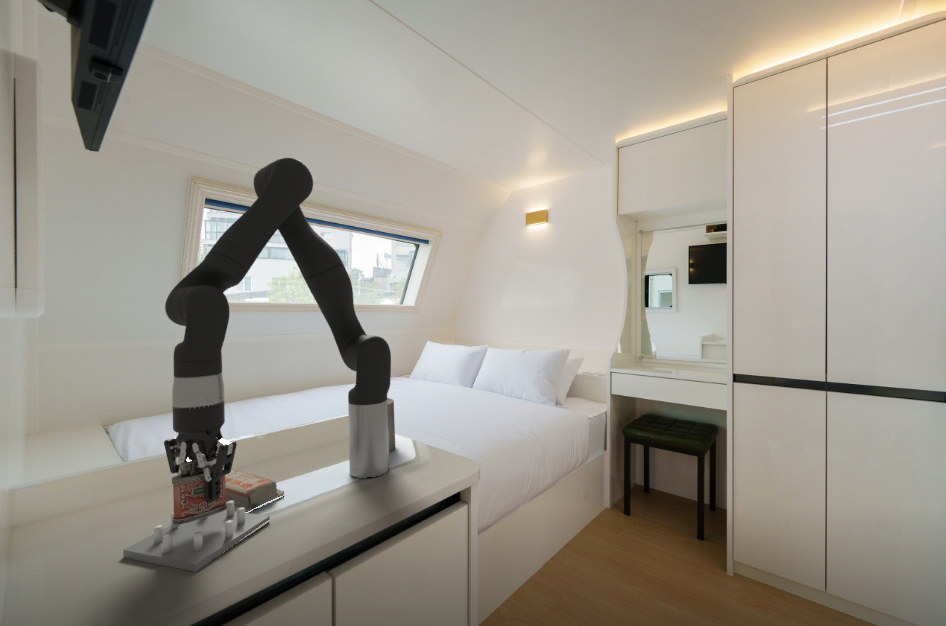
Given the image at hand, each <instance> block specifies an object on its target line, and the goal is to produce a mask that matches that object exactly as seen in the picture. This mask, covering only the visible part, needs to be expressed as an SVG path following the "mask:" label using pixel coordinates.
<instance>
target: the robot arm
mask: <svg viewBox="0 0 946 626" xmlns="http://www.w3.org/2000/svg"><path fill="white" fill-rule="evenodd" d="M253 188H254V192H255V194H256V197H257V198H256V200H255V201H254V202H253V203H252V204H251V205H250V206H249V208H248V209H247V210H246V211H245V212H244V213H243V214H242V215H241V216H239V217H238V218H237V219H236V221H234V223H232V224H231V225H230V226H229V227H228V228H227V229H226V231H224V232H223V234H222V235H221V236H220V237H219V238H218V239H217V241H216V242H215V243H214V245H213V246H212V248H211V249H210V250H209V251H208V252H207V254H206V255H205V257H204V258H203V260H202V261H201V262H200V263H199V264H198V265H197V266H196V267H194V268H193V269H191V271H190V272H189V273H188V274H186V275H185V277H183V278H182V279H181V280H180V281H179V282H178V283H177V284H176V285H175V286H174V287H173V289H171V291H170V292H169V293H168V296H167V298H166V301H165V305H164V310H165V315H166V316H167V317H168V319H169V320H170V321H171V322H173V323H174V324H175V325H178V326H181V327H185V328H184V335H183V337H184V338H183V340H182V341H181V342H180V343H177V344H176V346H175V347H174V350H173V382H172V383H173V384H172V391H171V394H172V398H171V399H172V429H173V432H175V433H178V434H177V436H173V437H171V438H169V439H165V440H164V442H163V445H164V450H165V454H166V457H167V462H168V467H169V471H170V473H171V474H173V475H174V474H177V475H180V474H182V473H181V470H180V464H181V463H184V462H188V461H192V460H197V461H198V464H199V468H200V469H203V472H204V476H205V479H206V481H205V501H206V502H209V503H211V502H213V501H215V500H217V499H218V498H219V496H220V494H221V488H220V487H221V481H220V479H221V477H222V476H224V475H226V474H229V473H230V472H231V469H233V463H234V459H235V454H236V450H237V445H238V444H237V443H238V442H237V441H236V440H232V441H228V440H226V439H224V437H223V434H222V431H221V429H222V427H223V425H225V421H226V418H225V416H226V415H225V414H226V413H225V412H226V411H225V383H224V379H223V378H224V377H223V356H222V355H223V354H222V348H223V345H224V342H225V339H226V334H227V330H228V326H229V322H230V321H229V320H230V305H229V304H230V303H229V301H228V299H227V296H226V295H225V292H226V291H227V290H229V289H230V288H233V287H236V286H237V285H238V284H240V283H241V282H242V280H244V278H245V277H246V275H247V274H248V272H249V271H250V269H251V267H252V266H253V265H254V263H255V262H256V260H257V258H258V257H259V256H260V254H261V253H262V252H263V250H264V248H265V247H266V246H267V244H268V242H270V240H271V239H272V237H273V236H274V234H276V232H277V231H278V232H279V233H280V235H281V236H282V239H283V240H284V242H285V244H286V246H287V248H288V249H289V251H290V254H291V256H292V257H293V259H294V261H295V263H296V265H297V267H298V269H299V271H300V274H301V275H302V278H303V280H304V282H305V283H306V285H307V287H308V289H309V291H310V293H311V295H312V296H313V299H314V300H315V302H316V304H317V306H318V308H319V310H320V312H321V314H322V316H323V318H324V320H325V321H326V323H327V325H328V326H329V329H330V331H331V334H332V337H333V339H334V342H335V345H336V346H337V348H338V349H337V350H338V352H339V355H340V357H341V360H342V361H343V363H344V365H345V366H346V367H347V368H348V369H350V370H351V371H353V372H355V374H356V375H355V376H356V377H355V385H354V387H352V388H351V389H350V390H348V395H347V402H348V407H347V409H348V446H349V447H348V452H349V455H348V456H349V457H348V459H349V460H348V461H349V463H348V464H349V475H350V476H351V477H353V476H354V477H353V478H356V477H357V478H356V479H368V478H367V477H372V478H376V476H377V477H379V476H382V475H385V474H386V473H387V472H388V471H389V466H390V452H389V430H388V414H387V398H388V393H389V392H390V391H389V390H390V387H391V377H392V376H391V374H392V373H391V371H392V354H391V348H390V345H389V344H388V342H387V340H385V338H383V337H381V336H378V335H369V334H367V332H366V331H365V330H364V328H363V327H362V324H361V322H360V320H359V319H358V316H357V314H356V311H355V306H354V305H355V303H354V293H353V283H352V281H351V278H350V275H349V274H348V271H347V269H346V266H345V265H344V262H343V261H342V259H341V257H340V255H339V254H338V253H337V251H336V250H335V249H334V248H333V247H332V246H331V245H330V244H329V243H328V242H327V241H326V240H325V239H324V238H323V237H321V236H320V235H319V234H318V233H317V232H316V231H315V230H314V228H313V227H312V226H311V225H310V224H309V222H308V220H307V218H306V216H305V214H304V213H303V210H302V209H301V205H302V204H303V202H305V200H306V199H308V198H309V197H310V196H311V194H312V191H313V189H314V178H313V174H312V172H311V171H310V170H309V168H308V167H307V165H305V164H304V163H303V162H302V161H301V160H299V159H296V158H295V157H282V158H279V159H276V160H274V161H272V162H271V163H268V164H267V165H265V166H263V167H261V168H260V169H259V170H258V171H257V172H256V173H255V175H254V177H253ZM212 457H213V459H212V460H211V461H208V462H207V461H206V460H207V459H210V458H212ZM177 458H178V462H177ZM211 465H213V467H214V472H212V471H211ZM223 466H224V468H223ZM188 470H189V469H188ZM187 472H188V471H187Z"/></svg>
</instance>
